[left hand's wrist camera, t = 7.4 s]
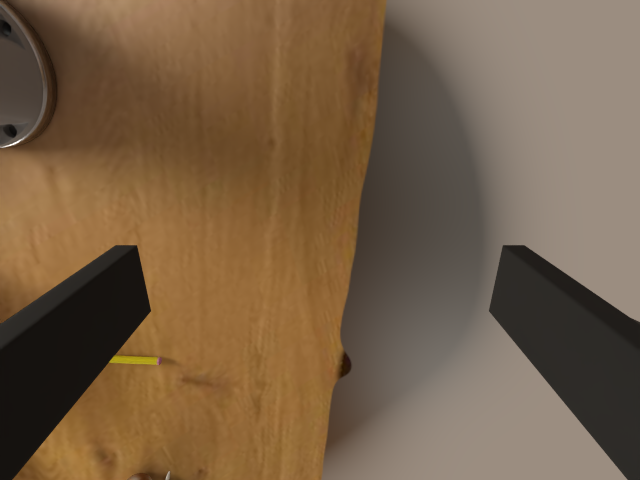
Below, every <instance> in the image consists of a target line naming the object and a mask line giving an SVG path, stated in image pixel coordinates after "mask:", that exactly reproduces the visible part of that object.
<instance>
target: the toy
mask: <svg viewBox="0 0 640 480" xmlns="http://www.w3.org/2000/svg"><path fill="white" fill-rule="evenodd" d="M169 478H170V471H169V472H168V474H167V477H166V479H165V480H169ZM127 480H153V479H152V478H151V477H150V476H149V475H147V474H143V473H139V474H135V475H133V476H131V477H129V478H128V479H127Z"/></svg>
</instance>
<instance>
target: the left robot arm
mask: <svg viewBox="0 0 640 480" xmlns="http://www.w3.org/2000/svg"><path fill="white" fill-rule="evenodd" d="M56 96H57V89H56V79H55V74H54V70H53V66H52V63H51V60H50V58H49V55H48V53H47V51H46V49H45V47H44V45H43V43H42V41H41V40H40V38H39V36H38V35H37V33H36V32H35V31H34V29H33V28H32V27H31V25H30V24H29V23H28V22H27V20H26V19H25V18H24V17H23V16H22V15H21V14H20V13H19V12H18V11H17V10H16V9H14V8H13V7H12V6H11V5H10V4H8V3H7V2H6V1H5V0H0V148H4V147H12V146H17V145H21V144H25V143H27V142H29V141H31V140H33V139H34V138H36V137H37V136H38V135H40V134H41V133H42V132H43V131H44V130H45V128H46V127H47V125H48V124H49V122H50V120H51V118H52V116H53V113H54V109H55V105H56ZM150 312H151V309H150V304H149V299H148V294H147V290H146V285H145V280H144V276H143V271H142V266H141V262H140V257H139V252H138V248H137V245H116V246H114V247H113V248H111V249H110V250H108V251H107V252H105V253H104V254H102V255H101V256H99V257H98V258H97V259H95V260H94V261H92V262H91V263H89V264H88V265H86V266H85V267H83V268H82V269H80V270H79V271H78V272H76V273H75V274H73V275H72V276H70V277H69V278H67V279H66V280H64V281H63V282H61V283H60V284H59V285H57V286H56V287H54V288H53V289H51V290H50V291H48V292H47V293H45V294H44V295H42V296H41V297H40V298H38V299H37V300H35V301H34V302H32V303H31V304H29V305H28V306H26V307H25V308H23V309H22V310H21V311H19V312H18V313H16V314H15V315H13V316H12V317H10V318H9V319H7V320H6V321H4V322H3V323H1V324H0V480H12V479H13V478H14V477H15V476H16V475H17V473H18V472H19V471H20V470H21V469H22V467H23V466H24V465H25V464H26V462H27V461H28V460H29V459H30V458H31V456H32V455H33V454H34V453H35V452H36V450H37V449H38V448H39V447H40V445H41V444H42V443H43V442H44V441H45V439H46V438H47V437H48V436H49V434H50V433H51V432H52V431H53V430H54V428H55V427H56V426H57V425H58V424H59V422H60V421H61V420H62V419H63V417H64V416H65V415H66V414H67V413H68V411H69V410H70V409H71V408H72V407H73V405H74V404H75V403H76V402H77V400H78V399H79V398H80V397H81V396H82V394H83V393H84V392H85V391H86V389H87V388H88V387H89V386H90V385H91V383H92V382H93V381H94V380H95V379H96V377H97V376H98V375H99V374H100V372H101V371H102V370H103V369H104V368H105V366H106V365H107V364H108V363H109V362H110V360H111V359H112V358H113V357H114V355H115V354H116V353H117V352H118V351H119V349H120V348H121V347H122V346H123V344H124V343H125V342H126V341H127V340H128V338H129V337H130V336H131V335H132V334H133V332H134V331H135V330H136V329H137V327H138V326H139V325H140V324H141V323H142V321H143V320H144V319H145V318H146V317H147V315H148V314H149V313H150ZM489 312H490V313H491V314H492V315H493V316H494V318H495V319H496V320H497V321H498V323H499V324H500V325H501V326H502V327H503V329H504V330H505V331H506V332H507V334H508V335H509V336H510V337H511V338H512V340H513V341H514V342H515V343H516V344H517V346H518V347H519V348H520V349H521V351H522V352H523V353H524V354H525V355H526V357H527V358H528V359H529V360H530V362H531V363H532V364H533V365H534V366H535V368H536V369H537V370H538V371H539V372H540V374H541V375H542V376H543V377H544V379H545V380H546V381H547V382H548V383H549V385H550V386H551V387H552V388H553V389H554V391H555V392H556V393H557V394H558V396H559V397H560V398H561V399H562V400H563V402H564V403H565V404H566V405H567V407H568V408H569V409H570V410H571V411H572V413H573V414H574V415H575V416H576V417H577V419H578V420H579V421H580V422H581V424H582V425H583V426H584V427H585V428H586V430H587V431H588V432H589V433H590V434H591V436H592V437H593V438H594V439H595V441H596V442H597V443H598V444H599V445H600V447H601V448H602V449H603V450H604V451H605V453H606V454H607V455H608V456H609V458H610V459H611V460H612V461H613V462H614V464H615V465H616V466H617V467H618V469H619V470H620V471H621V472H622V473H623V475H624V476H625V477H626V478H627V479H628V480H640V322H638V321H636V320H634V319H632V318H630V317H628V316H627V315H625V314H624V313H622V312H621V311H619V310H618V309H617V308H615V307H614V306H612V305H611V304H609V303H608V302H606V301H605V300H603V299H602V298H600V297H599V296H598V295H596V294H595V293H593V292H592V291H590V290H589V289H587V288H586V287H584V286H583V285H581V284H580V283H578V282H577V281H576V280H574V279H573V278H571V277H570V276H568V275H567V274H565V273H564V272H562V271H561V270H560V269H558V268H557V267H555V266H554V265H552V264H551V263H549V262H548V261H546V260H545V259H543V258H542V257H540V256H539V255H538V254H536V253H535V252H533V251H532V250H530V249H529V248H527V247H526V246H524V245H503V248H502V252H501V257H500V262H499V267H498V271H497V276H496V280H495V285H494V290H493V294H492V299H491V304H490V309H489Z"/></svg>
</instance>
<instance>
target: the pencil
mask: <svg viewBox="0 0 640 480" xmlns="http://www.w3.org/2000/svg"><path fill="white" fill-rule="evenodd" d="M161 361H162V358H161V357H141V356H116V355H114V357H113V358H112V359H111V360H110V362H109V363H130V364H155V365H160V364H161Z"/></svg>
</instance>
